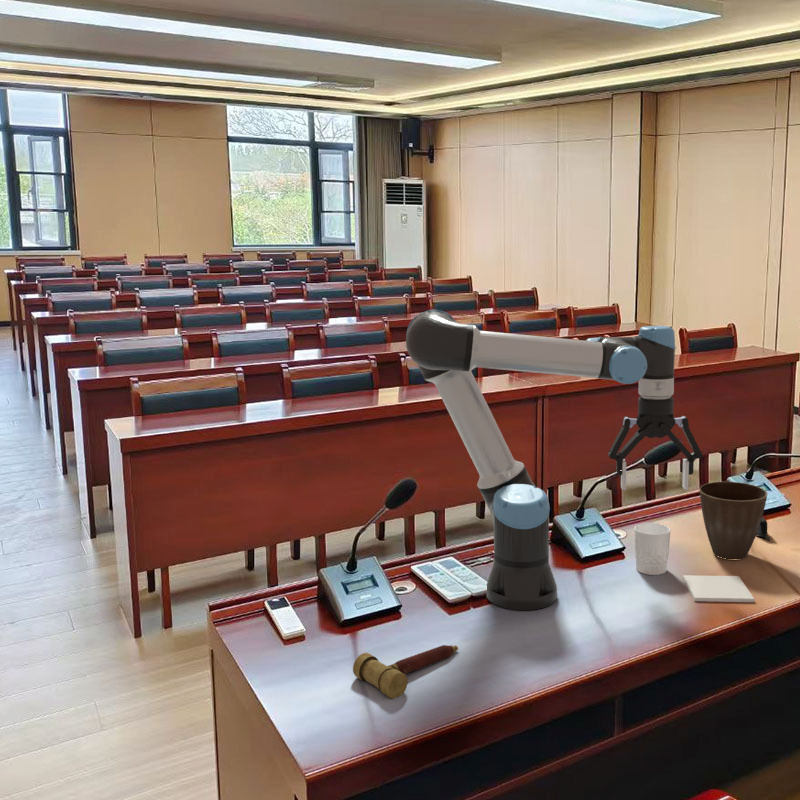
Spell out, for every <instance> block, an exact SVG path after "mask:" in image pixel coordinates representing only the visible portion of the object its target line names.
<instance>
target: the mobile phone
mask: <svg viewBox="0 0 800 800" xmlns="http://www.w3.org/2000/svg"><path fill="white" fill-rule="evenodd" d="M756 536H757V537H759V538H760V537H763V538H765V539H766V540H767V541H771V537H769V536H768V521H767V519H765V517H763V516H762V519H761V523H760V526H759V529H758V531H757V534H756Z"/></svg>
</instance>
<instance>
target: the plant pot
mask: <svg viewBox="0 0 800 800" xmlns="http://www.w3.org/2000/svg"><path fill="white" fill-rule="evenodd" d="M699 497H700V498H699V499H700V506H701V513H702V518H703V522H704V526H705V531H706V535H707V538H708V541H709V546H710V548H711V550H712V553H713V555H714V554H715V555H714V556H715V557H717V556H719V557H722V558H726V559H725V560H727V559H741V560H744V559H746V557H747V556H748V554H749V552H750V550H751V548H752V546H753V544H754V541H755V539H756V534H757V531H758V529H759V526H760V523H761V519H762V517H763V515H764V513H765V512H764V511H765V507H766V502H767V500H768V499H767V498H768V492H767V490H765V489H764V488H761V486H756V485H754V484H749V483H746V482H736V481H715V482H707V483H705V484H703V485H700V487H699ZM719 557H718V558H719ZM722 558H721V559H722ZM743 558H744V559H743Z"/></svg>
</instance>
